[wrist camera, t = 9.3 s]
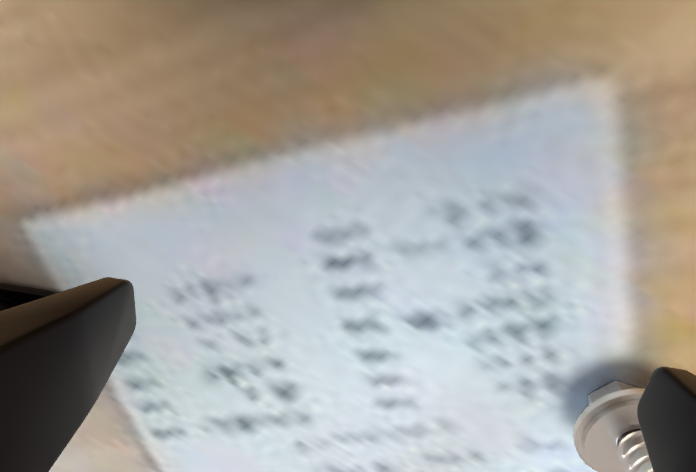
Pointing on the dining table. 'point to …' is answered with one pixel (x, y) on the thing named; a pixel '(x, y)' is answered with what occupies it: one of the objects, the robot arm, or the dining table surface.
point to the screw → (612, 431)
